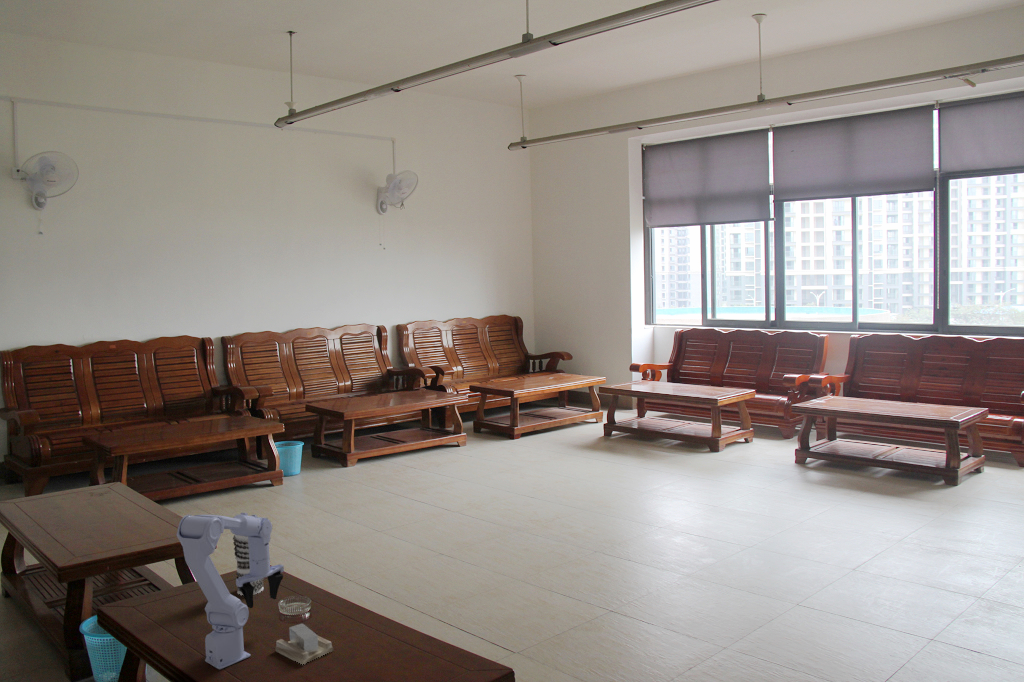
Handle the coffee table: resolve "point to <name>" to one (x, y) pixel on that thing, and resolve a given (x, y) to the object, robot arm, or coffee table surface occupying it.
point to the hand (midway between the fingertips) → (261, 602)
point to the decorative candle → (244, 562)
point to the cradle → (300, 654)
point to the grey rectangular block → (303, 638)
